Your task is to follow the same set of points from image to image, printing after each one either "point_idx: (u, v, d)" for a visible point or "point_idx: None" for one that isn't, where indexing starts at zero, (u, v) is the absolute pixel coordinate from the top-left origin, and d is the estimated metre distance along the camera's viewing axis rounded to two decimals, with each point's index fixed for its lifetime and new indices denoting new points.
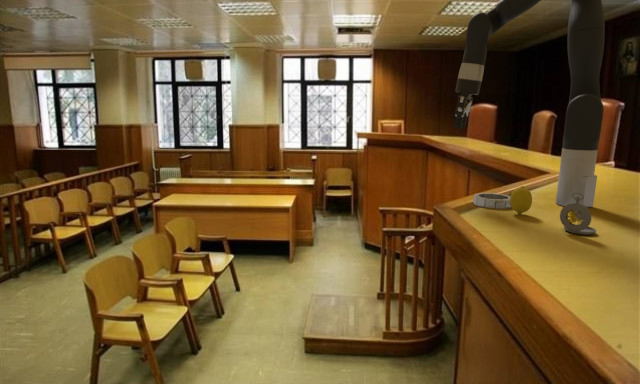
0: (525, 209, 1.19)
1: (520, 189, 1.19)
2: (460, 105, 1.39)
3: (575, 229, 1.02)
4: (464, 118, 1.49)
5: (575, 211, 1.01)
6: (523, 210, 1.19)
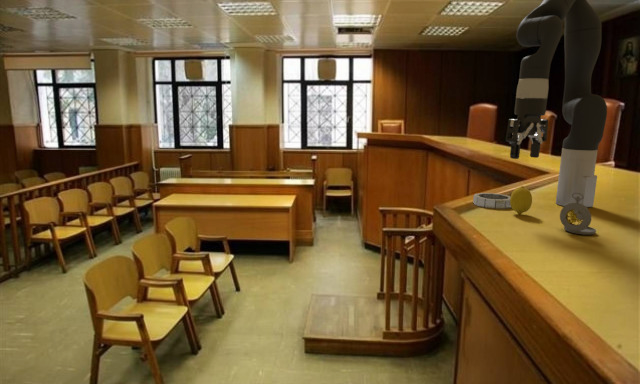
0: (525, 209, 1.19)
1: (520, 189, 1.19)
2: None
3: (575, 229, 1.02)
4: None
5: (575, 211, 1.01)
6: (523, 210, 1.19)
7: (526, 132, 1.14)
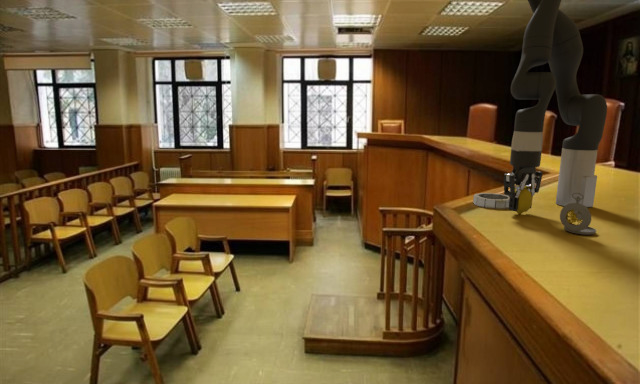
0: (525, 209, 1.19)
1: None
2: None
3: (575, 229, 1.02)
4: None
5: (575, 211, 1.01)
6: (523, 210, 1.19)
7: (522, 184, 1.17)
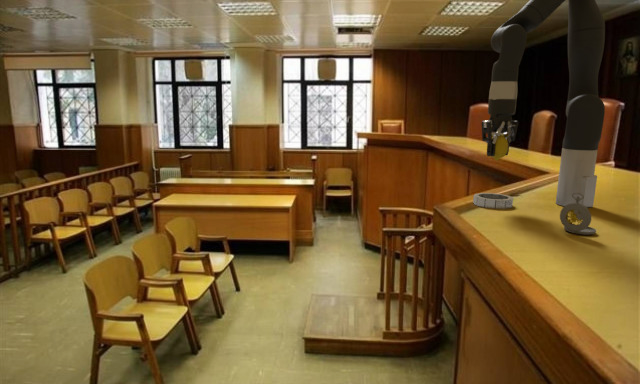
0: (501, 154, 1.28)
1: None
2: None
3: (575, 229, 1.02)
4: None
5: (575, 211, 1.01)
6: (500, 155, 1.29)
7: (499, 131, 1.27)
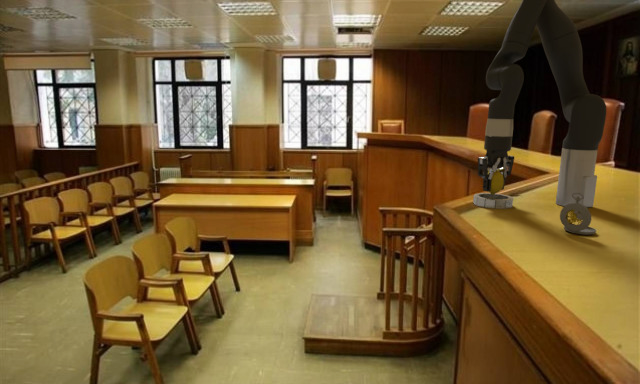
0: (497, 190, 1.31)
1: None
2: None
3: (575, 229, 1.02)
4: None
5: (575, 211, 1.01)
6: (495, 190, 1.31)
7: (495, 167, 1.29)
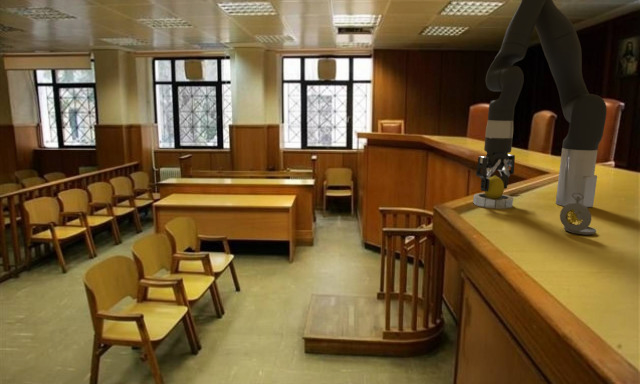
0: (497, 196, 1.31)
1: (493, 177, 1.31)
2: None
3: (575, 229, 1.02)
4: None
5: (575, 211, 1.01)
6: (496, 197, 1.31)
7: (494, 168, 1.28)
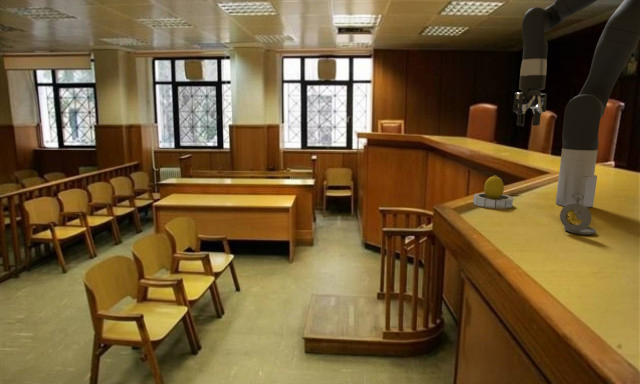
0: (497, 196, 1.31)
1: (493, 178, 1.31)
2: None
3: (575, 229, 1.02)
4: None
5: (575, 211, 1.01)
6: (495, 197, 1.31)
7: (529, 103, 1.39)
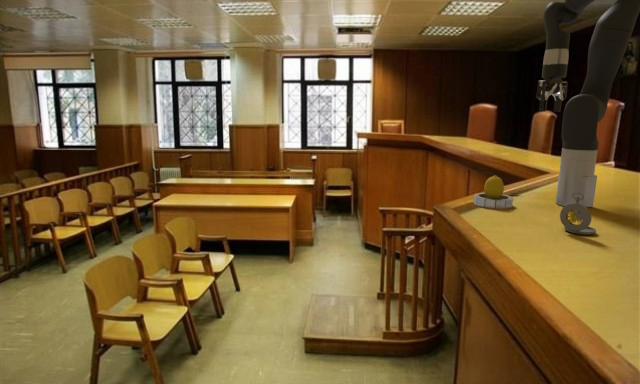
0: (497, 196, 1.31)
1: (493, 178, 1.31)
2: None
3: (575, 229, 1.02)
4: None
5: (575, 211, 1.01)
6: (495, 197, 1.31)
7: (552, 90, 1.49)
